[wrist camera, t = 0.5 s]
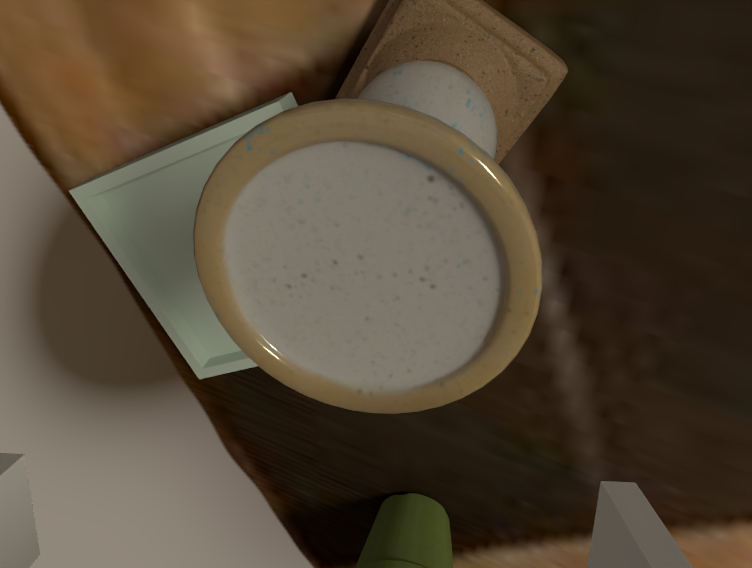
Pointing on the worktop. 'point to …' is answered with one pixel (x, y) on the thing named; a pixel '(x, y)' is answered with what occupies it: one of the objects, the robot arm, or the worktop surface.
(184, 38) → the worktop surface
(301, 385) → the candle holder
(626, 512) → the robot arm
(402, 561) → the plant pot
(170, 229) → the tray
